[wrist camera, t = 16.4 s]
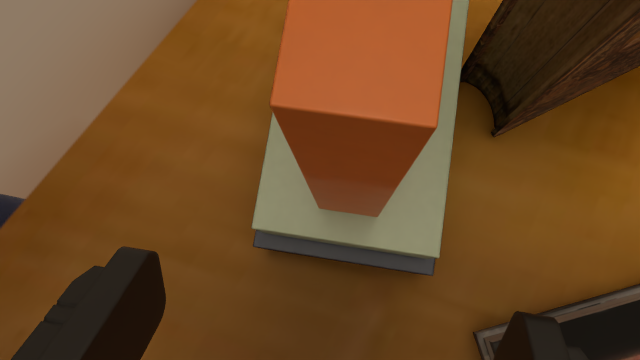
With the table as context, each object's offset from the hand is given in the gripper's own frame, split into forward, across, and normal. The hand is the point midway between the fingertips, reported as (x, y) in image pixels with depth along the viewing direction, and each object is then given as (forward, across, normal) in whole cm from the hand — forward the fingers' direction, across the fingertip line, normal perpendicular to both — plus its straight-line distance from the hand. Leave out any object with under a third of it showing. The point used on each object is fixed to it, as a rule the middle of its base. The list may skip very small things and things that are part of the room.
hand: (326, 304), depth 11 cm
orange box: (+19, 0, +4) cm, 20 cm away
